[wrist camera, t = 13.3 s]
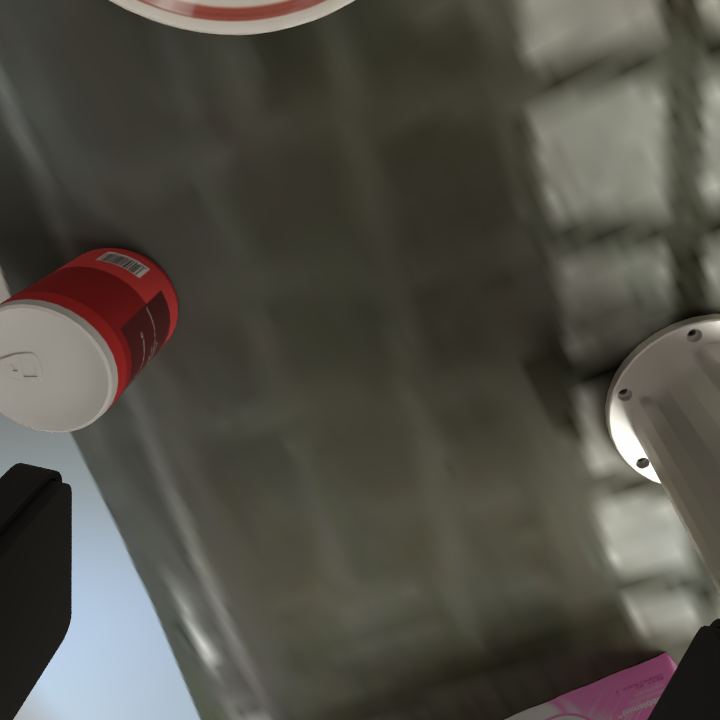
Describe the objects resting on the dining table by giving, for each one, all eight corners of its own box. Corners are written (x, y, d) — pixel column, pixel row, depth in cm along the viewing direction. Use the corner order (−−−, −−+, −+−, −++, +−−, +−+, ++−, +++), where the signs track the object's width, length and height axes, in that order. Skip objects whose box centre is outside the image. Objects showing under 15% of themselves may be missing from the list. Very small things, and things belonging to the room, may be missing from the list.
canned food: (46, 262, 44) (-64, 325, 34) (153, 228, 43) (70, 285, 33) (98, 363, 47) (10, 448, 37) (200, 335, 46) (137, 417, 36)
